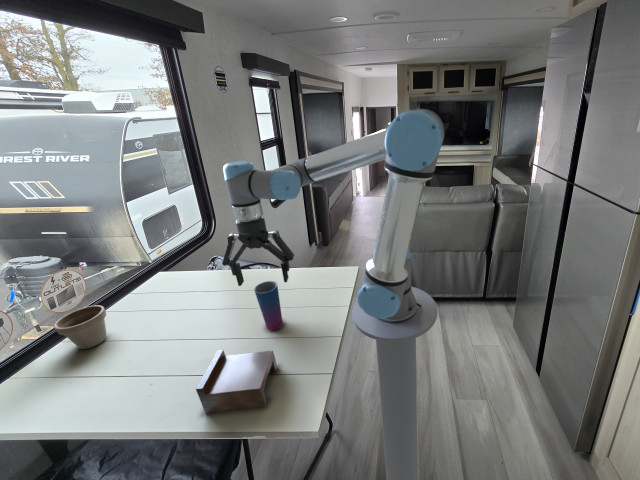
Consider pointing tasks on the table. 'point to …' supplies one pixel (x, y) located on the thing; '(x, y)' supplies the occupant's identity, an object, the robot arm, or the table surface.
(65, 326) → the flower pot
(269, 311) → the cup
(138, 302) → the table surface
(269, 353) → the brown stepped block
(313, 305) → the table surface
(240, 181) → the robot arm
